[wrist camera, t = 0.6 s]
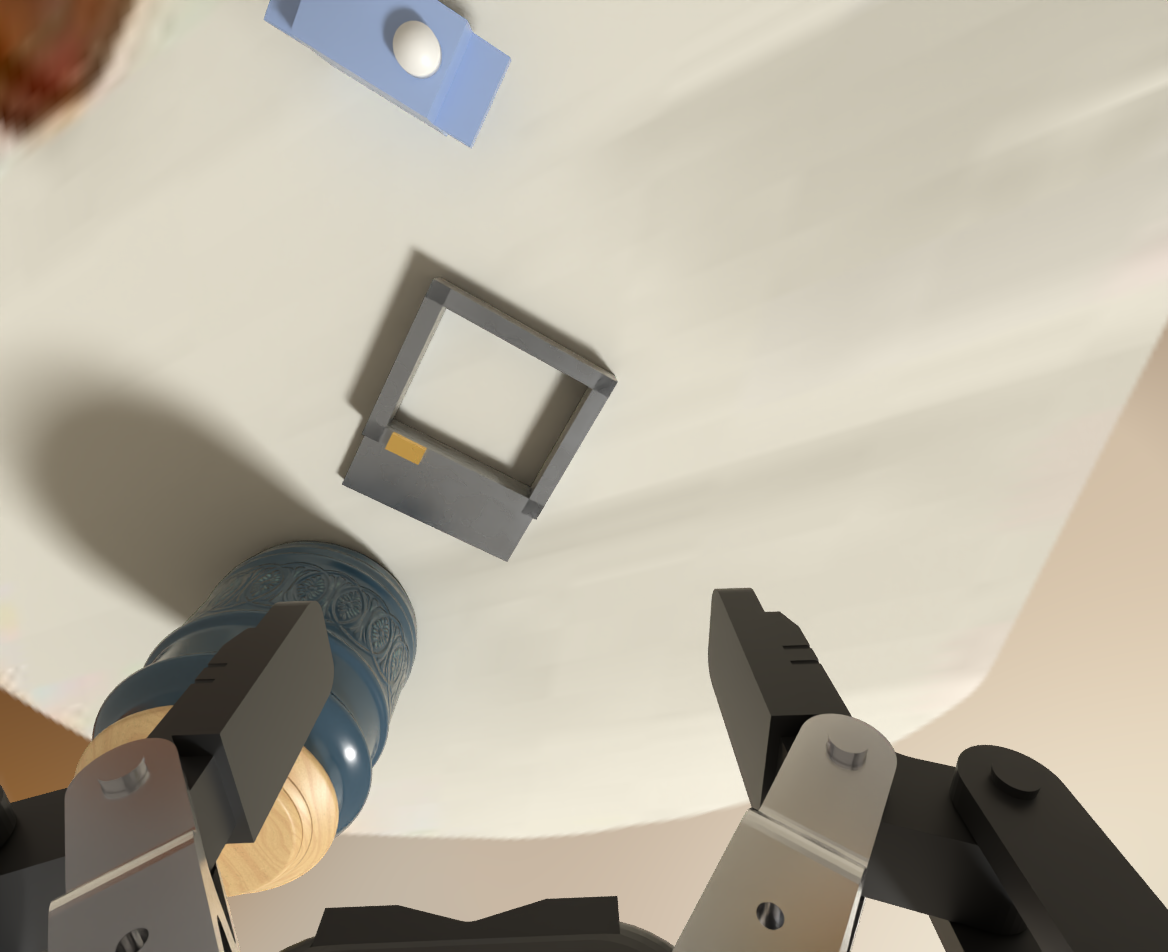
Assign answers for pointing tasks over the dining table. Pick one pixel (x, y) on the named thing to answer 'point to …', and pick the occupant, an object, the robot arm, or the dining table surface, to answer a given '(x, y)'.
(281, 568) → the canister
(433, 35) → the block
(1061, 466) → the dining table surface
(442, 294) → the chassis plate
